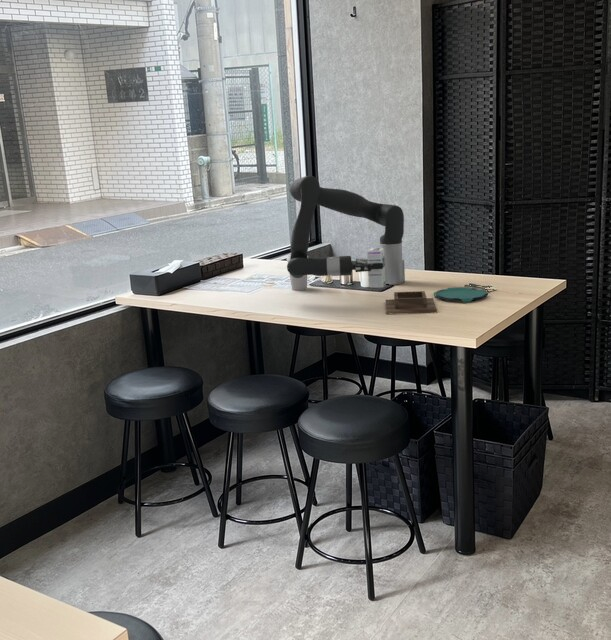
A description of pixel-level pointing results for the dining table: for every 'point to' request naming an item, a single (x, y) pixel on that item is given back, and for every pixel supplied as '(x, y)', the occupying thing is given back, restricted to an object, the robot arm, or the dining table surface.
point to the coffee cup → (297, 280)
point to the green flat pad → (462, 293)
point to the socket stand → (410, 303)
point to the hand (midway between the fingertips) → (382, 264)
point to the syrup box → (376, 275)
